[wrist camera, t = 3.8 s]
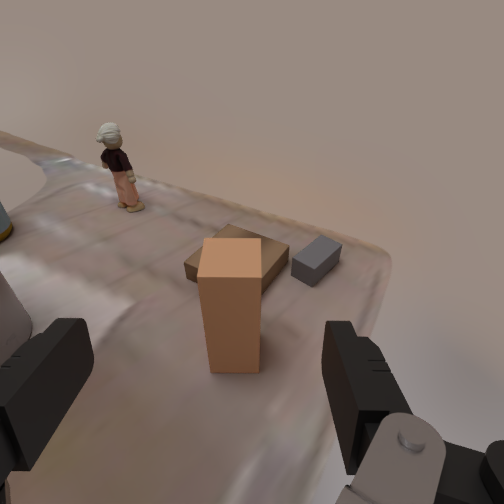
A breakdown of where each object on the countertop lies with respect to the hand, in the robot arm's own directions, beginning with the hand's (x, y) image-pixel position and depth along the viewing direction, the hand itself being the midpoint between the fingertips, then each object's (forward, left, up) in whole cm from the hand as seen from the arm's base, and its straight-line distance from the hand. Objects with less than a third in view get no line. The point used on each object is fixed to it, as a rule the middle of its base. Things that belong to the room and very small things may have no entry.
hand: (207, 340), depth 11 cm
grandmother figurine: (-35, +24, -18) cm, 46 cm away
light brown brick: (-6, +10, -18) cm, 22 cm away
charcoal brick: (-4, +25, -18) cm, 31 cm away
